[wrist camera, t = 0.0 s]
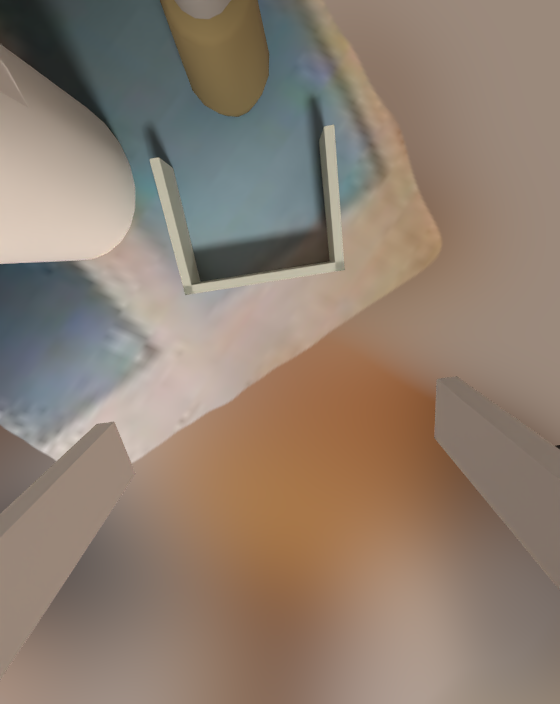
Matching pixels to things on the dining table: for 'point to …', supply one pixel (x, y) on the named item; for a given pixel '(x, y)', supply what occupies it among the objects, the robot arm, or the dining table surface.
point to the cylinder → (57, 173)
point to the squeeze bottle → (221, 51)
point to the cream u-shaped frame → (194, 285)
